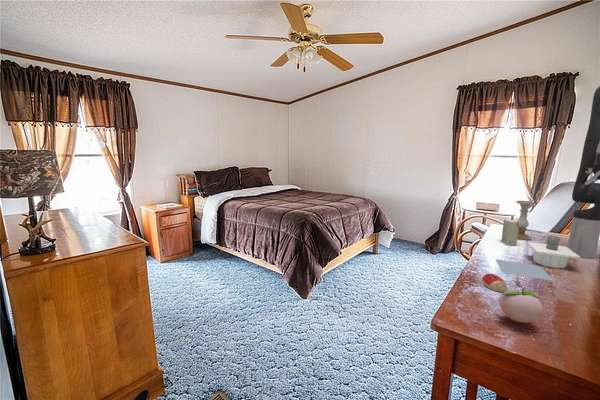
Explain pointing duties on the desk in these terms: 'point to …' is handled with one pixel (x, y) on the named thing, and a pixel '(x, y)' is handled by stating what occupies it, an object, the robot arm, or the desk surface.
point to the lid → (553, 248)
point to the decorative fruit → (521, 305)
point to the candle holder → (523, 220)
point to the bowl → (550, 260)
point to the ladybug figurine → (494, 283)
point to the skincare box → (510, 232)
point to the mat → (523, 269)
